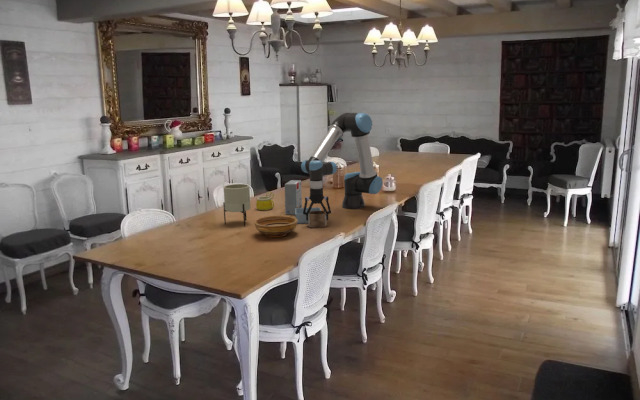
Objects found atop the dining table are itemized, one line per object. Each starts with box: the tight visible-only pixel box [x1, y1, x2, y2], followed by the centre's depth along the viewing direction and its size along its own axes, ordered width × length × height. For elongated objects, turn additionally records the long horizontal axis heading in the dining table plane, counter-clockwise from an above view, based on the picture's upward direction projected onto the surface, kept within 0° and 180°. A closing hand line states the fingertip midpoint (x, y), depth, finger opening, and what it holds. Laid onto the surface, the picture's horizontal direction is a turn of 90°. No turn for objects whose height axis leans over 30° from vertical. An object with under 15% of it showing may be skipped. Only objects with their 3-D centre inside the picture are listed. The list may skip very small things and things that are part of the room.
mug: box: [255, 191, 275, 211], centre depth 358 cm, size 13×11×12 cm
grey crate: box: [294, 207, 322, 225], centre depth 327 cm, size 16×16×6 cm
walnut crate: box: [309, 210, 326, 229], centre depth 313 cm, size 9×9×8 cm
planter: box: [223, 183, 251, 227], centre depth 321 cm, size 15×16×23 cm
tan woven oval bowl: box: [253, 215, 298, 238], centre depth 297 cm, size 30×24×8 cm
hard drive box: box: [284, 179, 303, 216], centre depth 347 cm, size 16×8×20 cm, turn 168°
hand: (317, 225), depth 314 cm, fingers closed on walnut crate, 9 cm apart
